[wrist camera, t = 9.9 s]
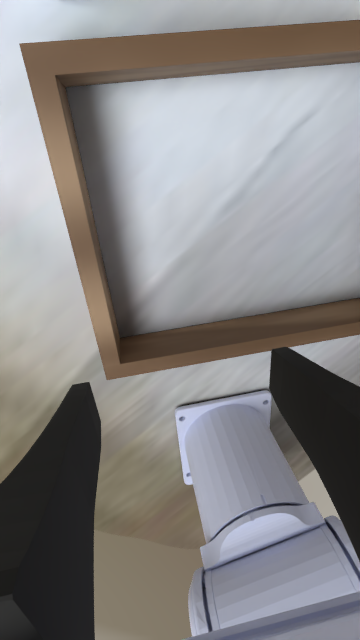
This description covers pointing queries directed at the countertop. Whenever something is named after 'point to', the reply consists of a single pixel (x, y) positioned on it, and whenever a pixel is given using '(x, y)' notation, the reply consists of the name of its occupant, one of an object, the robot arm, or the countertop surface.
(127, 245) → the countertop surface
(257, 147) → the countertop surface
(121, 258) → the countertop surface
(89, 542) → the robot arm
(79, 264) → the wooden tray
